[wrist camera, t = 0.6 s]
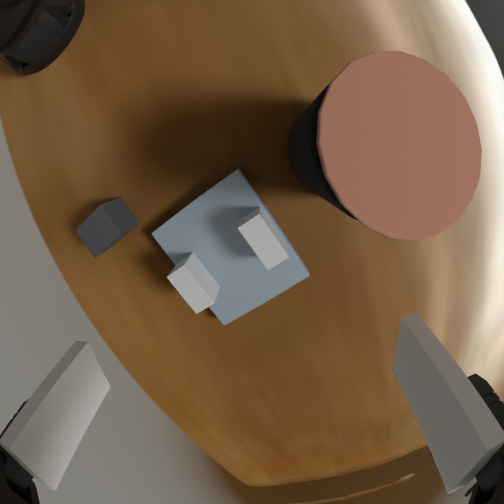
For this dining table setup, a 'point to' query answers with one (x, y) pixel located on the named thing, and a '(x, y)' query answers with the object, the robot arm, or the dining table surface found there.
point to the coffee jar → (390, 146)
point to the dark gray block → (106, 226)
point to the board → (229, 251)
